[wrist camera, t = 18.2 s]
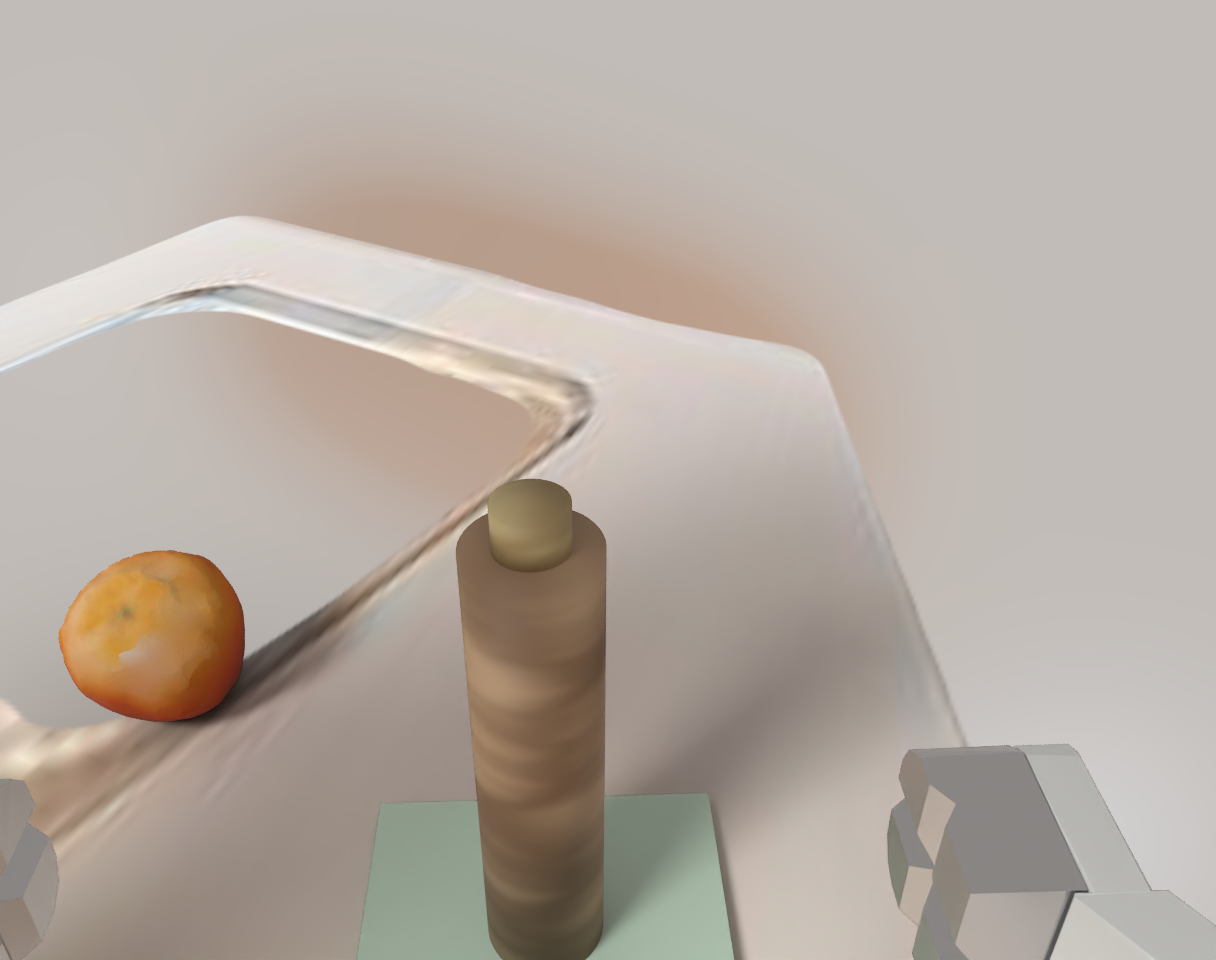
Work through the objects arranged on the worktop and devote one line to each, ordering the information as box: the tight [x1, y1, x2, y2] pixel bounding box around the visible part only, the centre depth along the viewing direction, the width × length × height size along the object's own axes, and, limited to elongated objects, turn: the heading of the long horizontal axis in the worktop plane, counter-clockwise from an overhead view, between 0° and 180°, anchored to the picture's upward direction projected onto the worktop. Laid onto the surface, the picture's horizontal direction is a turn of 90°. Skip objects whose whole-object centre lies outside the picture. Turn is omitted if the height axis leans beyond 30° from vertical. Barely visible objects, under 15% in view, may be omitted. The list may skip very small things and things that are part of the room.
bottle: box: [456, 479, 606, 960], centre depth 37 cm, size 4×4×20 cm
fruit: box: [59, 550, 245, 721], centre depth 53 cm, size 8×8×8 cm
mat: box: [356, 793, 734, 960], centre depth 43 cm, size 14×12×1 cm
